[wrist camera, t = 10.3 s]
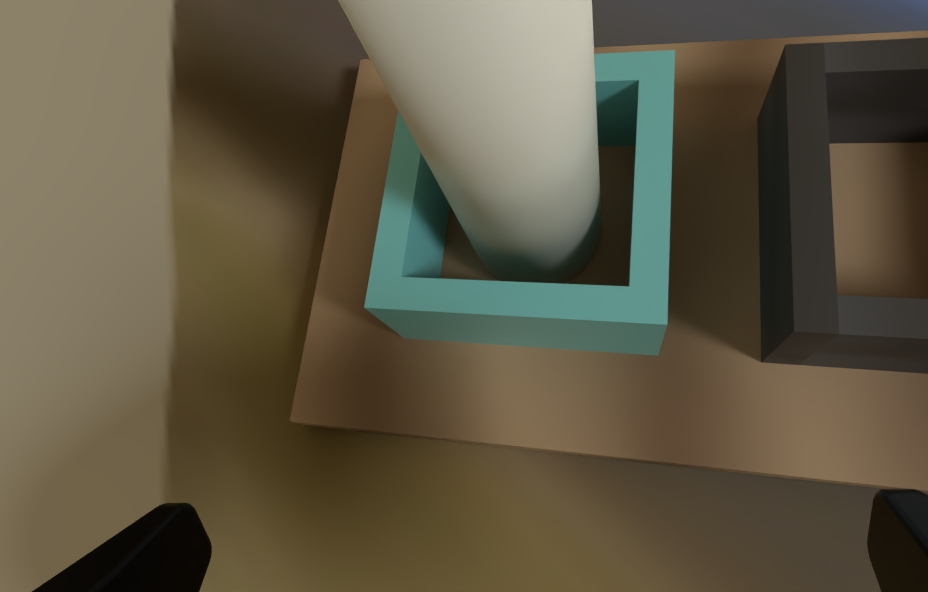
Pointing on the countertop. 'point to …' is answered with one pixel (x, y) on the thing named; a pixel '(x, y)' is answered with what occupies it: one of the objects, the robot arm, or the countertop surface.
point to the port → (527, 303)
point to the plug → (499, 120)
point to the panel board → (688, 283)
